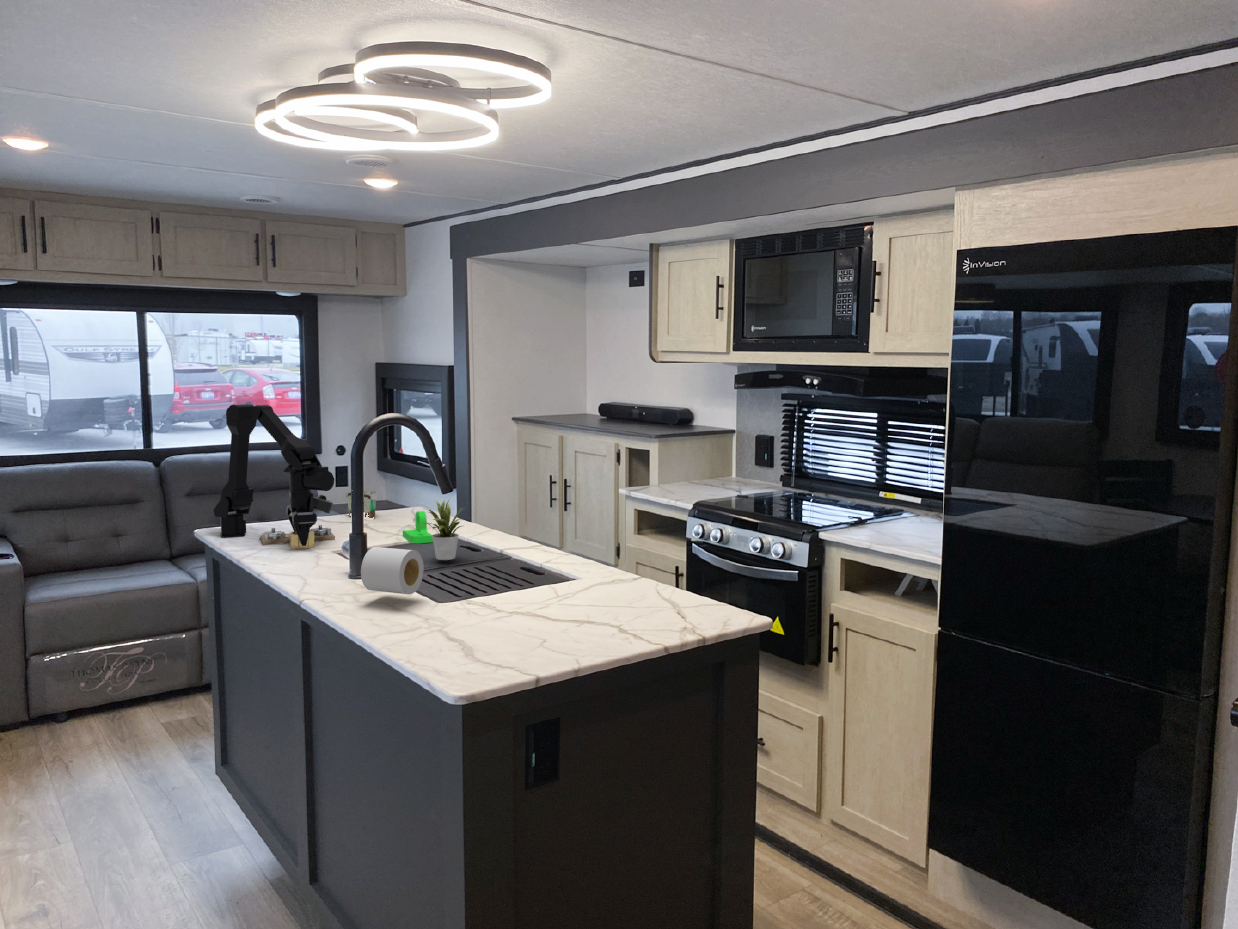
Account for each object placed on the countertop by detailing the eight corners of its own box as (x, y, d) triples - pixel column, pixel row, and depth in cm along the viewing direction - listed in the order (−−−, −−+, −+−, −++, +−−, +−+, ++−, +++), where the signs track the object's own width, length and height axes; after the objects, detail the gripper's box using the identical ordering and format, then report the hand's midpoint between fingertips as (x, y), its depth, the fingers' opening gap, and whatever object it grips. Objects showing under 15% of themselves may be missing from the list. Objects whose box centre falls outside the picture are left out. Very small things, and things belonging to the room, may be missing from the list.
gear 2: (311, 536, 269) (311, 527, 268) (308, 533, 274) (308, 524, 274) (332, 535, 271) (332, 526, 271) (329, 531, 277) (329, 523, 276)
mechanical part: (402, 537, 277) (402, 511, 276) (422, 535, 280) (421, 509, 279) (412, 543, 267) (412, 516, 266) (432, 542, 269) (432, 515, 268)
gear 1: (263, 540, 263) (263, 530, 262) (261, 536, 268) (261, 527, 268) (285, 538, 265) (285, 529, 265) (283, 535, 271) (283, 526, 270)
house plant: (406, 555, 248) (405, 496, 246) (452, 550, 256) (452, 492, 255) (429, 565, 237) (428, 503, 235) (476, 558, 245) (476, 498, 243)
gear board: (262, 545, 261) (262, 528, 260) (259, 539, 270) (259, 522, 269) (335, 540, 270) (334, 523, 269) (329, 534, 279) (329, 518, 278)
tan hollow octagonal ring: (291, 549, 256) (291, 535, 255) (289, 545, 261) (288, 531, 261) (315, 547, 258) (315, 533, 258) (312, 543, 264) (311, 530, 264)
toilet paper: (423, 589, 212) (423, 546, 211) (399, 599, 202) (398, 554, 201) (386, 585, 215) (386, 543, 214) (361, 594, 206) (360, 551, 205)
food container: (386, 521, 303) (385, 491, 302) (372, 524, 298) (371, 493, 297) (360, 518, 310) (360, 488, 309) (346, 520, 305) (345, 490, 304)
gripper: (335, 491, 253) (336, 546, 255) (325, 483, 270) (326, 535, 272) (293, 493, 249) (294, 549, 250) (285, 485, 265) (286, 538, 267)
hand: (302, 542), depth 260 cm, fingers open, 9 cm apart
